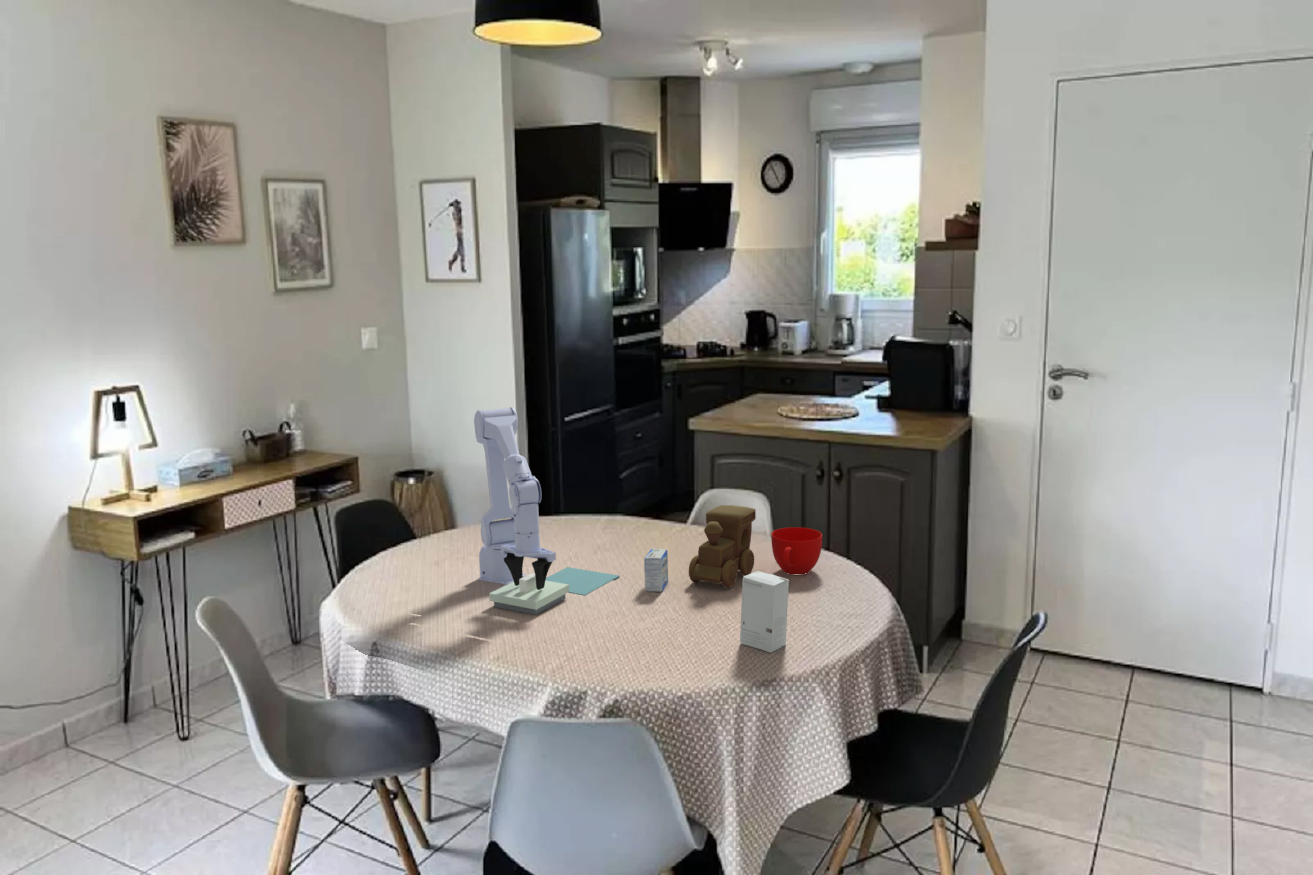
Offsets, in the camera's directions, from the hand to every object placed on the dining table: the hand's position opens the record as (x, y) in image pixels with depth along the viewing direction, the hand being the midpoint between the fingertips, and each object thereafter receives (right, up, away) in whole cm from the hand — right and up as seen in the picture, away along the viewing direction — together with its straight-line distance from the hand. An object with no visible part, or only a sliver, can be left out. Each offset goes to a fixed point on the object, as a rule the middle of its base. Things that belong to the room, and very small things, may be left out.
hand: (529, 586), depth 229 cm
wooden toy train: (+47, -1, +17) cm, 50 cm away
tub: (0, -4, +1) cm, 4 cm away
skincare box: (+53, -8, -26) cm, 59 cm away
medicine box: (+30, -2, +11) cm, 32 cm away
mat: (+10, -1, +16) cm, 19 cm away
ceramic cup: (+65, 0, +19) cm, 68 cm away
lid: (0, -1, 0) cm, 1 cm away
